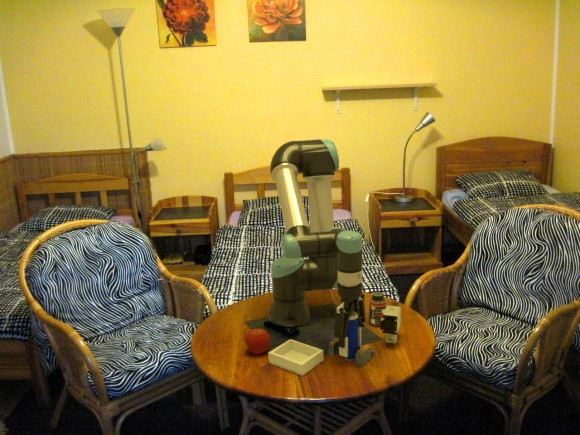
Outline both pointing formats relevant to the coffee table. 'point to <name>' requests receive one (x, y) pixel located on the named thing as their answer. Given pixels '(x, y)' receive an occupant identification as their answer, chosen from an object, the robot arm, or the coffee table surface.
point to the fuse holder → (361, 355)
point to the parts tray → (296, 357)
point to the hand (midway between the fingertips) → (350, 350)
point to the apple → (257, 340)
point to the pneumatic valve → (391, 322)
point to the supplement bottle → (376, 308)
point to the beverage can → (352, 337)
